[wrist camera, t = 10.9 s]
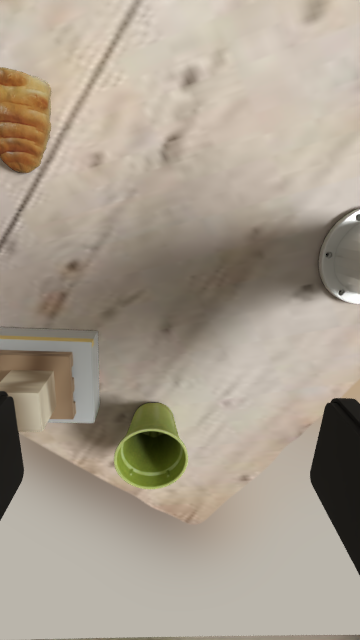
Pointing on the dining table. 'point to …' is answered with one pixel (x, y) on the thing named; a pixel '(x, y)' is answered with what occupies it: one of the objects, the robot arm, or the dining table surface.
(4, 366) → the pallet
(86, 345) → the dock
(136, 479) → the plant pot
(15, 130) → the pastry
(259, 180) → the dining table surface
